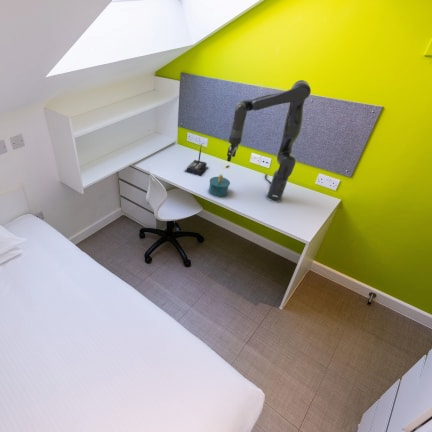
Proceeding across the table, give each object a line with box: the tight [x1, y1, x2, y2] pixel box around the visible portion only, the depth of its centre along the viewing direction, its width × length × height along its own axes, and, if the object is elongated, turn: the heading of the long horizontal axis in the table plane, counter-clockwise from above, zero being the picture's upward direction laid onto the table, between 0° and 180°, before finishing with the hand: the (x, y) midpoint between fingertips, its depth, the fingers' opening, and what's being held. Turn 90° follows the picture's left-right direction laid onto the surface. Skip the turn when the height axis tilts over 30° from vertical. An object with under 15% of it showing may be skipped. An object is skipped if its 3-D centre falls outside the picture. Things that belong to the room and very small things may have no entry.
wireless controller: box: [184, 143, 209, 177], centre depth 231 cm, size 20×14×17 cm
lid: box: [209, 173, 231, 188], centre depth 202 cm, size 14×14×6 cm
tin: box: [208, 182, 230, 198], centre depth 206 cm, size 13×13×8 cm
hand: (231, 158), depth 195 cm, fingers open, 8 cm apart
